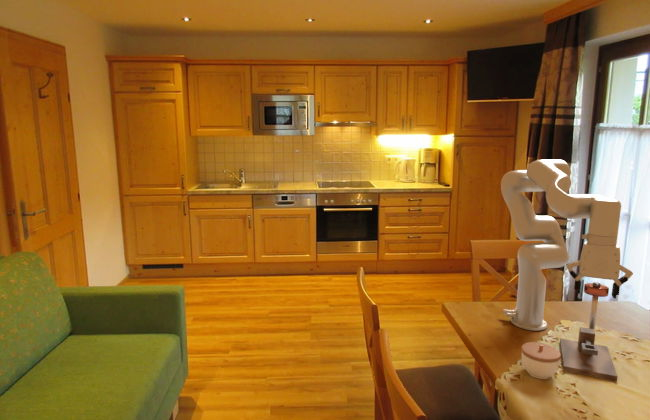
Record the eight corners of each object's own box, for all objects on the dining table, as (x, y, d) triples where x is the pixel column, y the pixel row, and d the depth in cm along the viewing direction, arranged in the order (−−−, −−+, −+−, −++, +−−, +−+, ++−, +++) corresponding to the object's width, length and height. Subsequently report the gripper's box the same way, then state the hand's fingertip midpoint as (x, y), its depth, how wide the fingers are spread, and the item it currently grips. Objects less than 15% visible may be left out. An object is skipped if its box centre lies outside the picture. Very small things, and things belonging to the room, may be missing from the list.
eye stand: (563, 370, 137) (566, 345, 136) (559, 342, 155) (562, 319, 154) (617, 381, 132) (620, 354, 130) (606, 350, 150) (609, 326, 148)
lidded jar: (556, 387, 128) (559, 357, 127) (516, 376, 134) (519, 348, 132) (560, 370, 137) (562, 342, 136) (522, 361, 143) (524, 333, 141)
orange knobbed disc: (580, 330, 136) (585, 285, 133) (578, 322, 142) (583, 278, 139) (605, 334, 133) (610, 288, 131) (602, 326, 139) (607, 281, 136)
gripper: (569, 239, 133) (564, 294, 136) (639, 245, 126) (632, 303, 129) (567, 234, 139) (562, 286, 142) (633, 239, 132) (626, 294, 135)
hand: (595, 294), depth 136 cm, fingers open, 9 cm apart
